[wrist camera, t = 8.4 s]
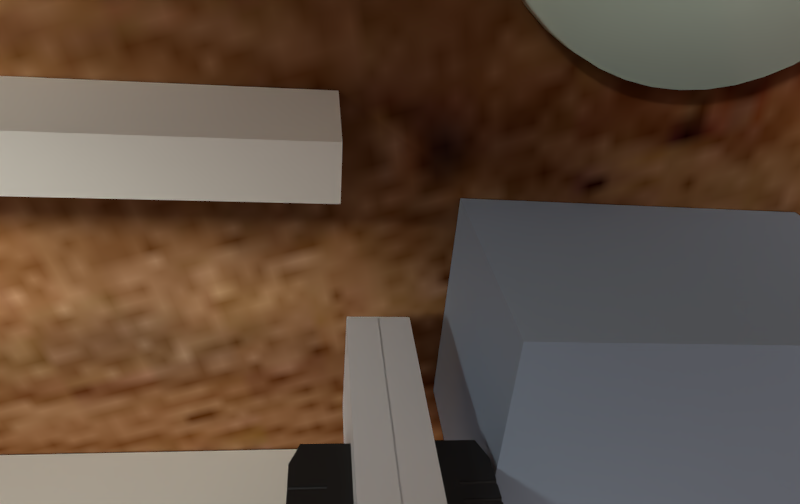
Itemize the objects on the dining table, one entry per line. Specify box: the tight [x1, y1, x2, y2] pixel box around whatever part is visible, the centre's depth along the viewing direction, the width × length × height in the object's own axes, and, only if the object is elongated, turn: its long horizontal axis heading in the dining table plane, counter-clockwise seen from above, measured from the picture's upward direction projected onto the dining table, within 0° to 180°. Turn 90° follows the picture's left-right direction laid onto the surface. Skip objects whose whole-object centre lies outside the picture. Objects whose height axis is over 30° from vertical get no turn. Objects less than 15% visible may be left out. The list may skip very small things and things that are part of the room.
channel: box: [0, 76, 343, 504], centre depth 15 cm, size 15×12×4 cm
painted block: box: [433, 198, 800, 504], centre depth 16 cm, size 9×6×6 cm, turn 85°
